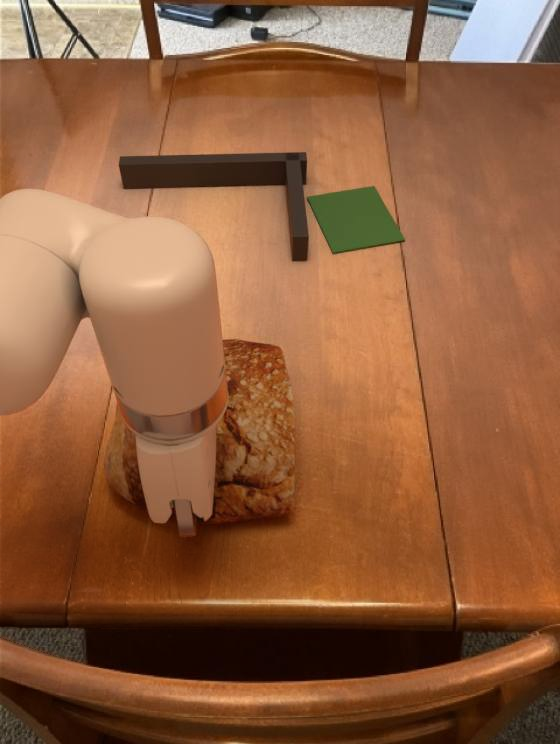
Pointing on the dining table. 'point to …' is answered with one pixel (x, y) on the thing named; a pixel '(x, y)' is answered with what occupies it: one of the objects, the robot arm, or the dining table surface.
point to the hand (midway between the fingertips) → (197, 511)
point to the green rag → (354, 219)
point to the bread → (234, 440)
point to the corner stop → (228, 179)
